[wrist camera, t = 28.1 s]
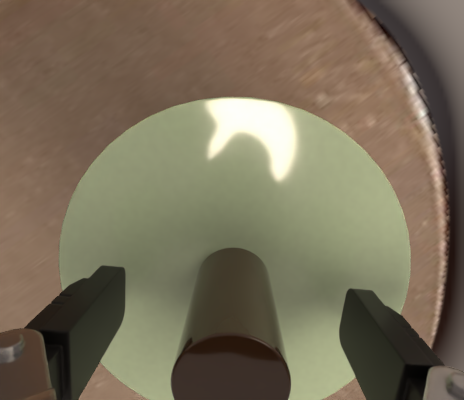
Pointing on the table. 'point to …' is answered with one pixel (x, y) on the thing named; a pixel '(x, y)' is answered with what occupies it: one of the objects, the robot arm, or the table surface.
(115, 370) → the jar lid
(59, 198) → the table surface
